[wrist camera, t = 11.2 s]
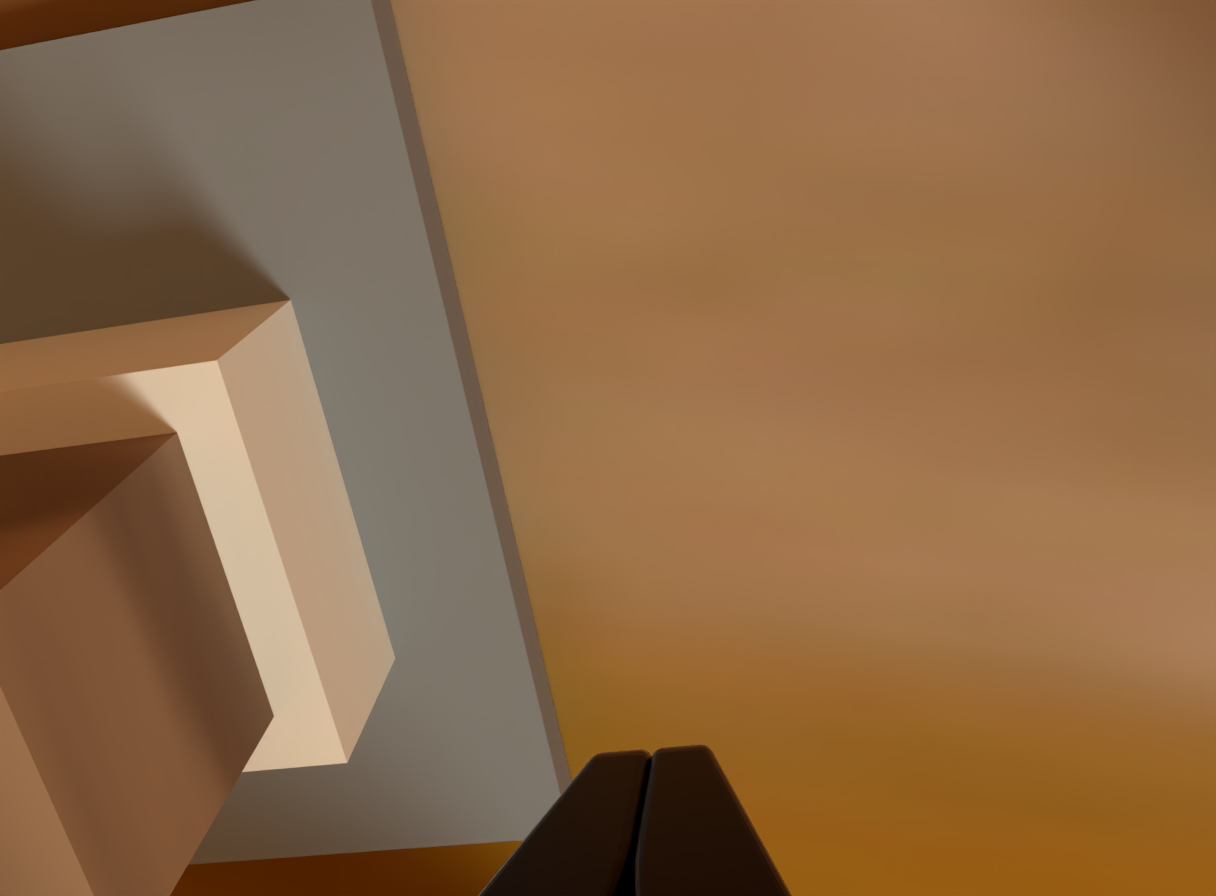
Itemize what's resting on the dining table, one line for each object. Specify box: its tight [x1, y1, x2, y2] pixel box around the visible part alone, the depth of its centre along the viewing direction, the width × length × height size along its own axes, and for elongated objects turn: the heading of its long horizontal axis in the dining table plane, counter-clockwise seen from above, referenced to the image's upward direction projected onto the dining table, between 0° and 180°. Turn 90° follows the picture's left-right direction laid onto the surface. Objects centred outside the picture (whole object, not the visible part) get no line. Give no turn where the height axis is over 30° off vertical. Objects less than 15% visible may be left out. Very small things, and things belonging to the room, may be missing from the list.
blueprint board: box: [0, 0, 572, 865], centre depth 20 cm, size 12×16×4 cm
